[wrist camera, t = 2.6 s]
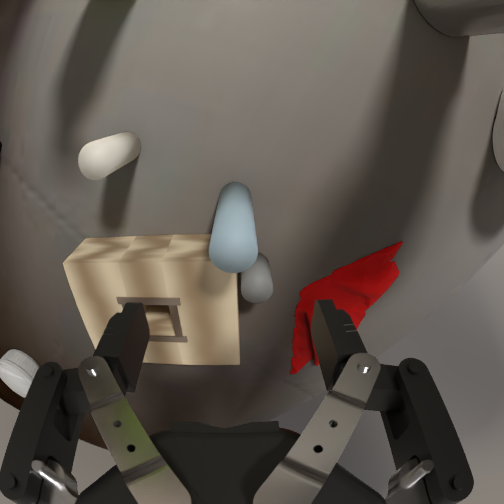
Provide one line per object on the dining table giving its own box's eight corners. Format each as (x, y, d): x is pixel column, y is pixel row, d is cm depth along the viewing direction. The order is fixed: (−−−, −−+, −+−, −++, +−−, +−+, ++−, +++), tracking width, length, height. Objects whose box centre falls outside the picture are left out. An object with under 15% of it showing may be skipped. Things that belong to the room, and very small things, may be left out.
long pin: (250, 181, 29) (258, 228, 19) (251, 211, 31) (257, 272, 20) (218, 182, 29) (207, 229, 18) (220, 212, 31) (210, 273, 20)
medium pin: (139, 130, 26) (109, 138, 19) (142, 160, 28) (114, 178, 21) (111, 133, 26) (76, 144, 19) (114, 163, 27) (81, 182, 21)
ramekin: (18, 339, 39) (5, 358, 35) (57, 378, 44) (48, 398, 40) (-1, 350, 41) (-11, 367, 37) (34, 385, 46) (26, 402, 42)
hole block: (236, 233, 32) (235, 261, 26) (239, 330, 38) (239, 365, 33) (85, 238, 31) (61, 264, 26) (113, 328, 38) (99, 359, 32)
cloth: (379, 208, 32) (387, 215, 30) (429, 271, 36) (437, 279, 34) (235, 343, 40) (235, 354, 38) (301, 377, 45) (304, 388, 43)
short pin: (269, 252, 33) (274, 276, 29) (268, 276, 35) (272, 302, 30) (240, 252, 33) (240, 277, 28) (240, 277, 34) (241, 303, 30)
